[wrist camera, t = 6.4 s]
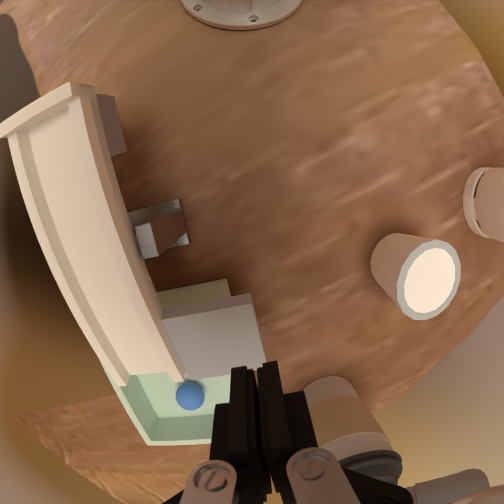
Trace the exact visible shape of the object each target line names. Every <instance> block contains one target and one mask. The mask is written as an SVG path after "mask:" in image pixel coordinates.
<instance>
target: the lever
mask: <svg viewBox="0 0 504 504" xmlns="http://www.w3.org/2000/svg"><path fill="white" fill-rule="evenodd" d="M4 137H8V141H9V146H10V151H11V155H12V159H13V163H14V167H15V171H16V175H17V178H18V182H19V185H20V189H21V192H22V195H23V198H24V202H25V205H26V208H27V211H28V214H29V216H30V219H31V222H32V224H33V228H34V230H35V233H36V236H37V238H38V241H39V243H40V245H41V248H42V250H43V253H44V255H45V258H46V260H47V262H48V264H49V267H50V269H51V271H52V273H53V275H54V278H55V280H56V282H57V284H58V286H59V288H60V290H61V292H62V294H63V296H64V298H65V300H66V302H67V304H68V306H69V308H70V309H71V311H72V313H73V315H74V317H75V319H76V321H77V322H78V324H79V326H80V328H81V329H82V331H83V333H84V334H85V336H86V338H87V340H88V341H89V343H90V345H91V346H92V348H93V349H94V351H95V352H96V354H97V356H98V357H99V359H100V360H101V362H102V363H103V365H104V366H105V368H106V369H107V371H108V372H109V374H110V375H111V377H112V378H113V380H114V381H115V383H116V384H117V385H118V386H127V384H128V381H129V377H130V375H139V374H151V373H161V372H168V373H169V375H170V377H171V379H172V380H173V382H184V378H185V372H186V374H187V376H188V378H189V380H195V379H203V378H210V377H217V376H224V375H231V368H234V367H241V366H247V369H253V371H254V370H257V368H259V367H263V366H262V363H266V362H267V359H266V354H265V350H264V346H263V342H262V338H261V334H260V330H259V326H258V322H257V318H256V314H255V310H254V306H253V302H252V298H251V294H250V293H247V294H242V295H237V296H232V297H227V298H222V299H217V300H211V301H206V302H201V303H196V304H190V305H185V306H179V307H174V308H168V309H163V307H162V304H161V302H160V300H159V297H158V295H157V292H156V290H155V287H154V285H153V283H152V280H151V277H150V275H149V272H148V270H147V267H146V264H145V262H144V259H143V256H142V254H141V251H140V248H139V246H138V243H137V240H136V237H135V234H134V231H133V228H132V225H131V223H130V220H129V216H128V213H127V210H126V207H125V204H124V201H123V198H122V195H121V191H120V188H119V185H118V181H117V178H116V174H115V171H114V167H113V164H112V160H111V157H112V156H115V155H118V154H121V153H124V152H127V148H126V144H125V140H124V136H123V132H122V128H121V124H120V120H119V115H118V111H117V106H116V102H115V97H113V96H108V95H102V94H96V92H95V86H92V85H87V84H81V83H76V82H70V81H69V82H67V83H66V84H64V85H62V86H60V87H58V88H56V89H54V90H53V91H51V92H49V93H47V94H46V95H44V96H42V97H40V98H39V99H37V100H35V101H34V102H32V103H31V104H29V105H27V106H26V107H24V108H23V109H21V110H20V111H18V112H17V113H15V114H14V115H12V116H11V117H9V118H8V119H6V120H5V121H3V122H2V123H1V124H0V138H4Z"/></svg>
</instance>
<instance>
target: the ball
mask: <svg viewBox="0 0 504 504" xmlns="http://www.w3.org/2000/svg"><path fill="white" fill-rule="evenodd" d="M204 399H205V396H204V392H203V390H202V389H201V388H200V387H199V386H198V385H196V384H194V383H185V384H183V385H181V386H180V387H179V388H178V389H177V391H176V401H177V403H178V405H179V406H180V407H182V408H183V409H185V410H190V411H192V410H196V409H198V408H200V407H201V406H202V404H203V403H204Z"/></svg>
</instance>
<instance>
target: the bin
mask: <svg viewBox="0 0 504 504" xmlns="http://www.w3.org/2000/svg"><path fill="white" fill-rule="evenodd" d="M157 295H158V297H159V300H160V302H161V304H162V307H163V309H168V308H174V307H179V306H185V305H190V304H196V303H201V302H206V301H211V300H217V299H222V298H227V297H231V294H230V290H229V286H228V282H227V278H226V279H221V280H216V281H211V282H206V283H201V284H196V285H191V286H186V287H181V288H176V289H171V290H166V291H161V292H157ZM100 361H101V360H100ZM101 364H102V366H103V368H104V370H105V372H106V374H107V376H108V378H109V380H110V382H111V384H112V386H113V388H114V390H115V391H116V393H117V395H118V397H119V399H120V401H121V402H122V404H123V406H124V408H125V410H126V411H127V413H128V415H129V416H130V418H131V420H132V421H133V423H134V425H135V426H136V428H137V430H138V431H139V433H140V434H141V436H142V438H143V439H144V441H145V442H146V444H147V445H192V444H208V443H211V438H212V428H213V419H214V409H215V405H216V404H219V403H229V398H230V380H231V375H224V376H217V377H210V378H203V379H195V380H189V378H188V376H187V374H186V372H185V378H184V382H173V380H172V379H171V377H170V375H169V373H168V372H161V373H151V374H139V375H130V377H129V381H128V384H127V386H118V385H117V384H116V383H115V381H114V380H113V378H112V377H111V375H110V374H109V372H108V371H107V369H106V368H105V366H104V365H103V363H102V362H101ZM185 383H194V384H196V385H198V386H199V387H200V388H201V389H202V390H203V392H204V396H205V399H204V403H203V404H202V406H201V407H200V408H198V409H196V410H192V411H190V410H185V409H183V408H182V407H180V406H179V405H178V403H177V401H176V391H177V389H178V388H179V387H180V386H181V385H183V384H185Z"/></svg>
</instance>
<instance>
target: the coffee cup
mask: <svg viewBox="0 0 504 504" xmlns="http://www.w3.org/2000/svg"><path fill="white" fill-rule="evenodd" d="M302 391H304V393H305V396H306V400H307V404H308V408H309V412H310V416H311V420H312V424H313V428H314V432H315V436H316V440H317V444H318V447H320V448H323V449H327V450H328V451H330V452H332V453H333V454H334V456H335V457H336V458H337V460H338V462H339V464H340V466H342V467H345V468H347V469H350V470H353V471H355V472H358V473H361V474H364V475H367V476H369V477H372V478H375V479H378V480H381V481H385V482H388V483H391V484H394V485H397V484H398V479H399V477H400V475H401V473H402V464H401V462H402V459H401V456H400V455H399V454H398V453H396V452H395V451H394V450H393V448H392V447H391V445H390V441H389V439H388V437H387V436H386V435H385V433H384V431H383V430H382V428H381V427H380V426H379V424H378V423H377V421H376V420H375V418H374V417H373V415H372V414H371V412H370V411H369V409H368V408H367V406H366V405H365V403H364V402H363V401H362V400H361V399H360V397H359V396H358V394H357V393H356V391H355V390H354V388H353V387H352V385H351V384H350V382H349V381H348V380H346V379H344V378H342V377H338V376H327V377H322V378H319V379H317V380H315V381H313V382H311V383H310V384H308V385H307V386H306V387H305V388H304V389H303V390H302Z"/></svg>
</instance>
